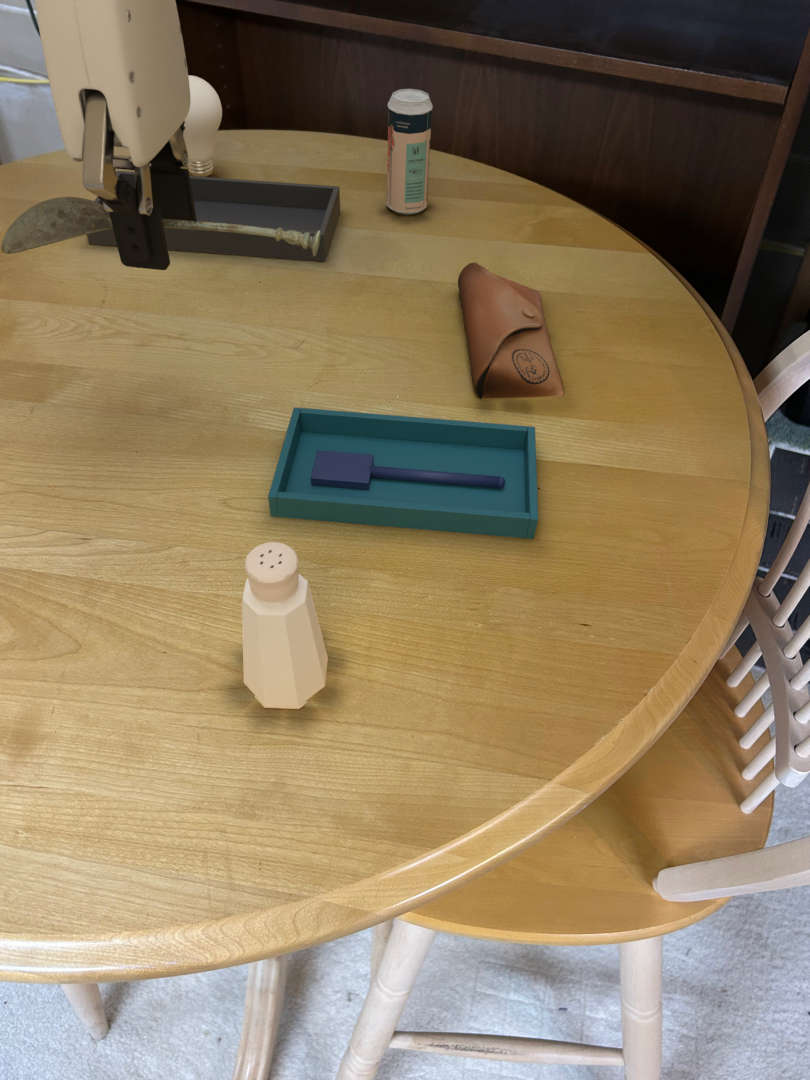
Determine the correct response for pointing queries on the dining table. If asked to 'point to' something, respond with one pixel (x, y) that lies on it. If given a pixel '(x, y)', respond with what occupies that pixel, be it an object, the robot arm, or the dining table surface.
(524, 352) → the sunglasses case
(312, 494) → the teal tray
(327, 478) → the navy spatula
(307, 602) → the pepper shaker
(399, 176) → the beer can
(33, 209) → the soupspoon
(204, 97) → the light bulb
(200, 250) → the grey tray
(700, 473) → the dining table surface
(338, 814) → the dining table surface
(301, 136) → the dining table surface
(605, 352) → the dining table surface
